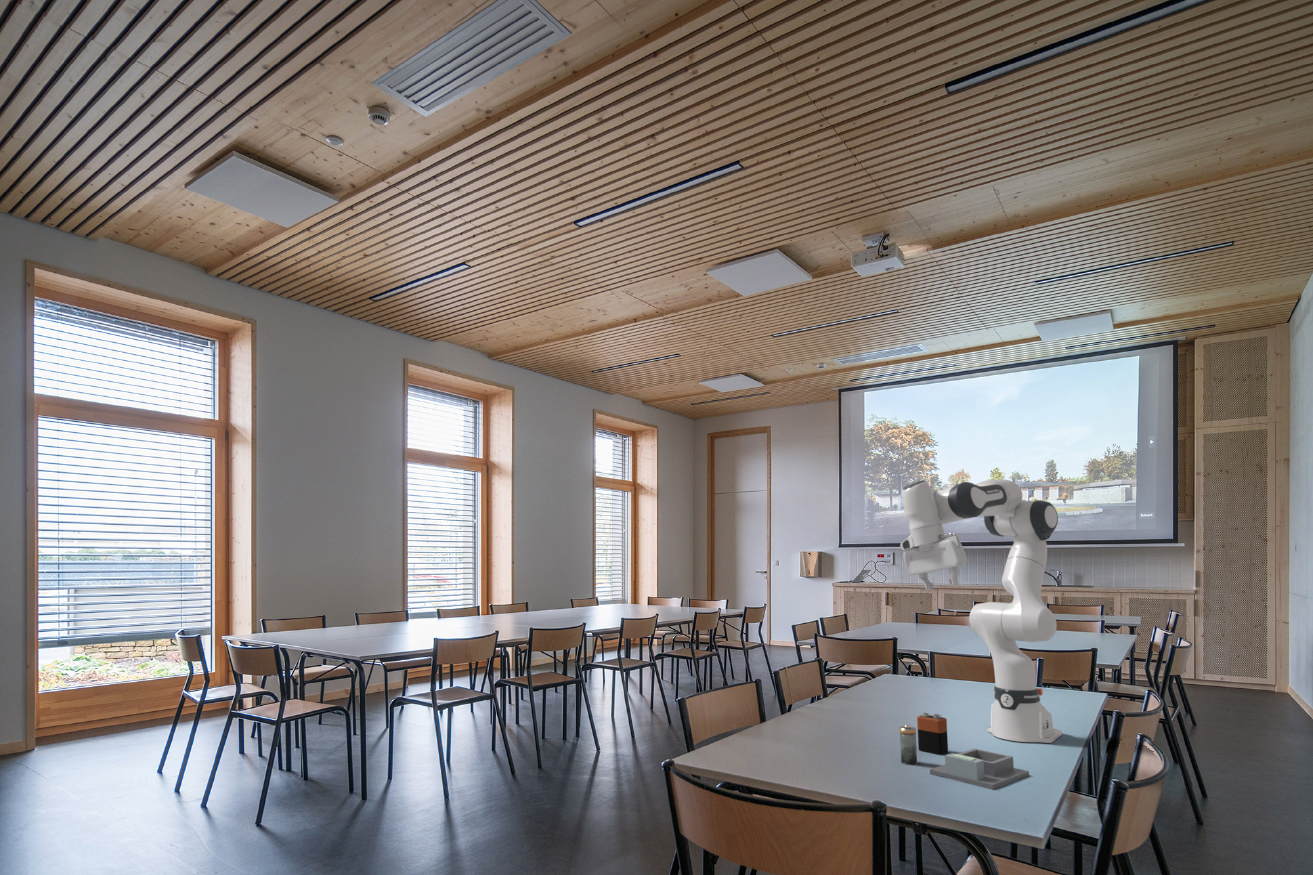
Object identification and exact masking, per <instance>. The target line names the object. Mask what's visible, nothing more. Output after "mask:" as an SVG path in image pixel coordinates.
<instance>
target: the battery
mask: <svg viewBox="0 0 1313 875" xmlns="http://www.w3.org/2000/svg"><path fill="white" fill-rule="evenodd" d="M916 722H917V744H918V745H917V747H918V751H920V750H921V751H920V752H925V753H929V752H930V754H936V755H939V754H942V755H944V754H947V753H949V744H948V743H949V741H948V723H947V718H946V717H942V714H939V713H933V714H931V715H930V714H929V713H928V712H922V715H919V716H917V717H916Z"/></svg>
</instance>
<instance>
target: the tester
mask: <svg viewBox="0 0 1313 875" xmlns="http://www.w3.org/2000/svg"><path fill="white" fill-rule="evenodd" d="M944 761H945V762H944V763H945V764H943V765H940V766H937V767H933V768H930V769H929V774H930V773H931V774H930V775H934V776H937V775H938V776H937V777H941V776H943V777H942V778H945V777H946V779H949V778H950V780H953V779H954V781H957V780H958V782H962V783H965V782H966V784H968V785H969V784H970V785H973V784H974V786H977V787H981V786H982V787H981V788H985V789H989V790H995V789H998V788H1001V787H1003V786H1006V785H1008V784H1011V783H1013V782H1016V781H1018V780H1020V779H1023V778H1026V777H1028V776H1030V771H1029V770H1026V769H1021V768H1017V767H1014V766H1015V765H1014V756H1011V755H1006V754H1002V753H998V752H992V751H988V750H984V749H980V748H972V749H969V750H965V751H963V752H959V753H954V752H952V753H949V754H946V755H945V756H944Z"/></svg>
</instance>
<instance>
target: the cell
mask: <svg viewBox="0 0 1313 875" xmlns="http://www.w3.org/2000/svg"><path fill="white" fill-rule="evenodd" d="M898 728H899V741H900V742H899V743H900V746H899V748H900V763H901V762H902V763H901V764H904V763H905V765H909V764H910V765H913V766H915V765H918V754H917V753H918V752H917V730H916V727H913V726H911V725H910V724H904V726H903V725H902V726H899V727H898Z"/></svg>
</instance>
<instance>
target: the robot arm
mask: <svg viewBox="0 0 1313 875" xmlns="http://www.w3.org/2000/svg"><path fill="white" fill-rule="evenodd" d="M901 502H902V506H903V510H904V513H905V517H906V519H907V521H908V524H909V533H910V535H908V536H907V538H905V539H904V540H903V541H902V542H901V543H900V546H899V547H900V549H901V550H902V551H903V555H902V556H903V562H904V566H905V570H906V573H907V574H908V575H909V576H911V577H913V576H917V575H918V578H919V580H920V581H921V582H922V584H924V588H925V590H926V591H928V590H933V589H934V588H935V586H934V583H933V582H931V581H930V579H929V578H928V577H929V574H928V573H932V572H938V571H942V570H948V572H949V573H950V578H948V582H949V586H953V587H954V586H957V585H959V584H960V583H959V579H958V576H959V572H960V570H959V567H962V566H966V565H967V564H968V557H967V555H966V552H965V550H964V547H963V545H962V543H961V541H960V539H959V536H958V535H957V534H955V533H953V532H948V533H945V530H944V527H943V525H947V524H950V523H954V522H958V521H962V520H963V521H964V520H966V519H972V518H977V517H979V516H980V517H981V516H982V517H983V521H984V522H983V523H984V526H985V528H986V530H987V531H988V532H989V533H990V534H991V535H993V536H998V537H1013V544H1012V545H1011V548H1010V550H1009V553H1008V555H1007V558H1006V561H1005V562H1006V563H1005V564H1004V565H1005V566H1004V569H1003V573H1002V578H1001V584H1002V587H1003V588H1004V590H1005V591H1006V592H1007V593H1009V594H1010V595H1011V596H1013V600H1012V602H996V601H987V602H982V603H978V604H975V605H974V606H973V607H972V608H971V610H970V613H969V616H968V617H969V620H968V621H969V624H970V627H971V629H972V630H973V632H975V633H976V634H977V635H978V636H979V637H980V638H981V639H982V640H983V642H984V643H985V645H986V646H987V649H988V651H989V653H990V655H991V658H992V664H993V670H994V671H993V672H994V681H995V682H994V683H995V684H994V688H993V693H994V699H995V700H994V701H993V703H991V707H990V708H991V710H990V727H989V726H988V727H987V730H986V731H987V732H988V733H990V734H992V735H993V736H995V737H996V738H999V739H1003V740H1007V741H1011V742H1012V741H1013V742H1021V743H1044V744H1045V743H1046V744H1052V743H1054V741H1056V740H1057V739H1058V738H1059V737H1061V736H1062V735H1063V732H1062V730H1059V729H1056V728H1054V725H1053V724H1054V722H1053V716H1052V713H1051V712H1049V710H1048V709H1047V708H1046V707H1045V706H1044V705H1043V704H1042V703H1041V697H1042V696H1043V694H1044V693H1043V689H1042V688H1037V684H1036V668H1035V666H1036V665H1035V663H1034V662H1033V660H1032V658H1031V657H1029V656H1028V655H1027V654H1025V653H1024V652H1022V651H1021V649H1020V648H1019V646H1018V644H1017V642H1025V643H1027V642H1028V643H1039V642H1047V641H1050V640H1051V639H1052V638H1053V637H1054V636H1055V633H1056V632H1057V626H1058V624H1057V619H1056V617H1055V615H1054V613H1053V612H1052V610H1050V609H1049V608H1048V607H1047V606H1046V605H1045V604H1044V601H1043V598H1042V585H1043V581H1044V575H1045V570H1046V566H1047V560H1048V543H1047V540H1049V539H1050V537H1051V536H1052V534H1053V533H1054V532H1055V530H1056V529H1057V526H1058V523H1059V522H1058V521H1059V517H1058V511H1057V509H1056V508H1055V506H1054V504H1052V503H1051V502H1049V501H1047V500H1040V499H1037V500H1023V492H1022V489H1021V486H1019V484H1017V483H1016V481H1015V482H1014V481H1013V480H1009V479H999V478H997V479H995V478H994V479H987V480H983V481H980V482H978V483H973V482H971V481H963V482H960V483H958V484H956V485H954V486H950V487H947V488H944V489H941V490H940V489H939V490H938V489H935V488H933V487H931V486H930V484H929V482H928V481H927V480H919V481H915V482H913V483H910V484H907V485H906V486H904V487H903V488H902V489H901ZM1016 641H1017V642H1016ZM1040 696H1041V697H1040Z"/></svg>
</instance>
